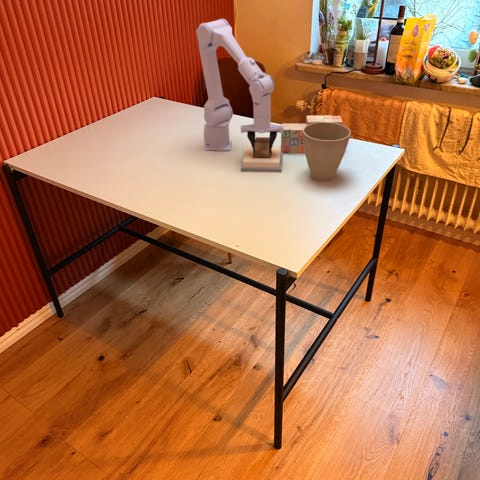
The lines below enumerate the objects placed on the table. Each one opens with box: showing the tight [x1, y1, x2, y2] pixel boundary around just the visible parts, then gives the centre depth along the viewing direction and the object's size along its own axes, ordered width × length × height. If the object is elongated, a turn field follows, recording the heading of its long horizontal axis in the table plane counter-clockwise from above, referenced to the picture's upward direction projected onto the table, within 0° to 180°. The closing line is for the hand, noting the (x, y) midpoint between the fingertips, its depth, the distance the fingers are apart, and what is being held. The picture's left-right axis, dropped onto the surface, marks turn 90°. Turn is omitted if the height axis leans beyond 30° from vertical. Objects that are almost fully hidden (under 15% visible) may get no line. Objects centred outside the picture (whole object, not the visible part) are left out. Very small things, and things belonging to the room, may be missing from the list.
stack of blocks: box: [280, 114, 343, 154], centre depth 164 cm, size 21×6×12 cm, turn 85°
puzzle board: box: [240, 145, 284, 173], centre depth 159 cm, size 14×14×3 cm
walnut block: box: [255, 136, 270, 158], centre depth 158 cm, size 5×5×6 cm
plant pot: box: [303, 122, 352, 182], centre depth 146 cm, size 15×15×16 cm
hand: (262, 151), depth 158 cm, fingers closed on walnut block, 5 cm apart
